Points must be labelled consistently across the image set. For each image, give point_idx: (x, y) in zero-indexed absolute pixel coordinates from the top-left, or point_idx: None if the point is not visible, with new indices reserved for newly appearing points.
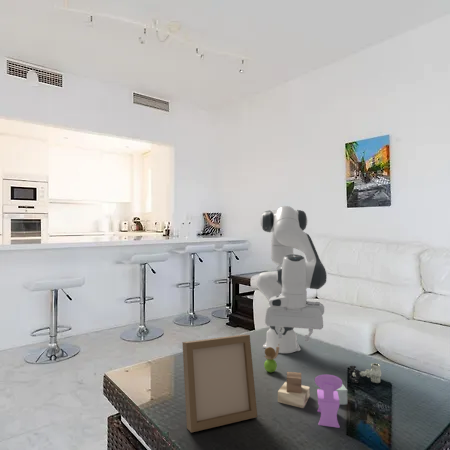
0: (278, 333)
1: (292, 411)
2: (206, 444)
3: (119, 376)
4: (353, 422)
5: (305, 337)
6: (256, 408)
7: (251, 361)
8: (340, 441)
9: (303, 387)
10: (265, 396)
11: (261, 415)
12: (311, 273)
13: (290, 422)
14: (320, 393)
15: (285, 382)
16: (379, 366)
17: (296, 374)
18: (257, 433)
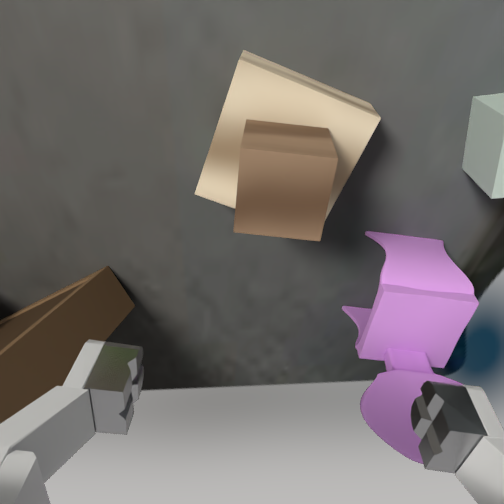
0: (72, 438)
1: (262, 240)
2: None
3: None
4: (476, 287)
5: (422, 456)
6: (122, 319)
7: None
8: (381, 368)
9: (340, 133)
10: (140, 126)
11: (147, 274)
12: None
13: (249, 302)
14: (385, 322)
15: (239, 73)
16: None
17: (299, 186)
18: (150, 353)
